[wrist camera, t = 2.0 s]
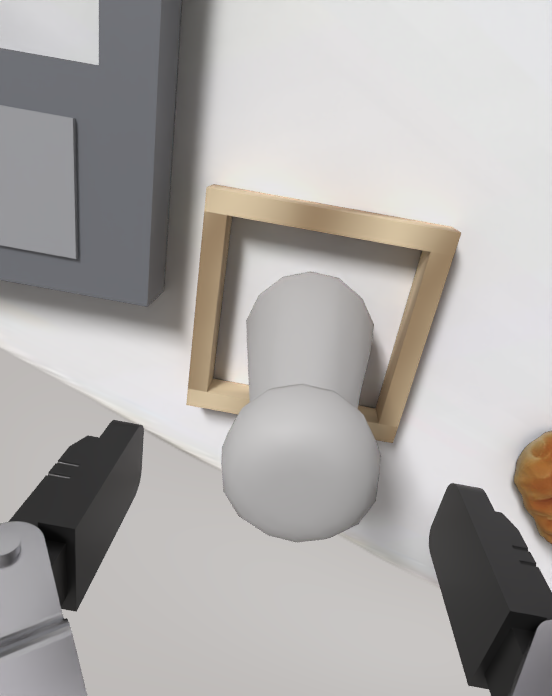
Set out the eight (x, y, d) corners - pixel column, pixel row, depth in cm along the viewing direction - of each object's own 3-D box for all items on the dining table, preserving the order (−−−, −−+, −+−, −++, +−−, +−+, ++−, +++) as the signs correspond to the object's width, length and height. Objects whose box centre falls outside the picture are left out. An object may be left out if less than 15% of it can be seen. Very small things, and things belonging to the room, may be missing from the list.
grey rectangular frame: (194, -205, 16) (171, -268, 13) (164, 290, 23) (145, 308, 21) (-145, -262, 16) (-229, -335, 14) (-67, 248, 24) (-112, 261, 21)
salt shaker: (384, 277, 22) (457, 432, 10) (349, 379, 25) (377, 600, 13) (265, 247, 22) (203, 370, 10) (242, 353, 24) (170, 551, 13)
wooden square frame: (451, 226, 21) (461, 232, 20) (388, 427, 26) (392, 443, 24) (213, 184, 21) (206, 187, 20) (193, 390, 26) (186, 405, 24)
